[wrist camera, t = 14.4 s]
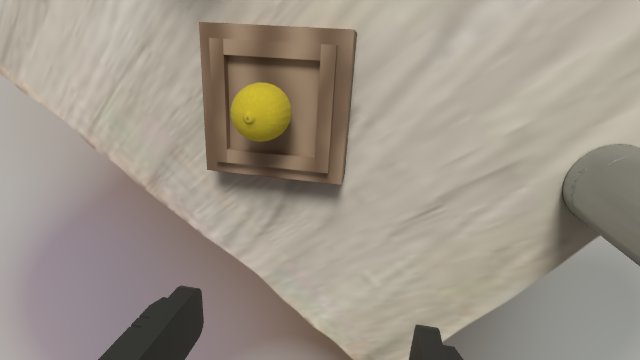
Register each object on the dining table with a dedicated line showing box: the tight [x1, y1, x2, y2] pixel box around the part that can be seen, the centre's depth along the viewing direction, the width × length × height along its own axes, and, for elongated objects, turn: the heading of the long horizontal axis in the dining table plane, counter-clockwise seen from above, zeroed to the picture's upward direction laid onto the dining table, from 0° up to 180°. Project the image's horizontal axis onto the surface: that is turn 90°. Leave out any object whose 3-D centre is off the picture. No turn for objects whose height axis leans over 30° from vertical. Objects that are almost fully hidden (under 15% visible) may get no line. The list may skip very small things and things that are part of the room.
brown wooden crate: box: [199, 22, 357, 185], centre depth 38 cm, size 16×16×5 cm
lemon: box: [231, 82, 292, 142], centre depth 33 cm, size 6×6×8 cm
